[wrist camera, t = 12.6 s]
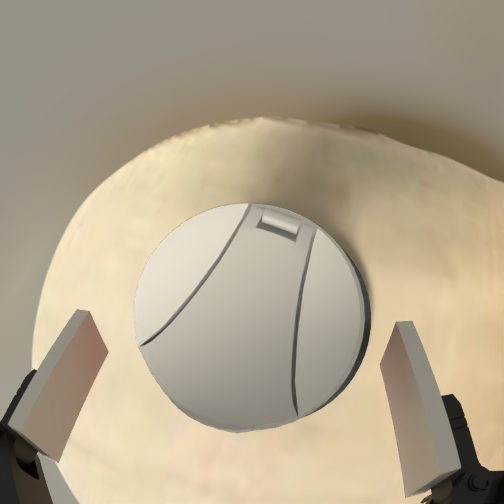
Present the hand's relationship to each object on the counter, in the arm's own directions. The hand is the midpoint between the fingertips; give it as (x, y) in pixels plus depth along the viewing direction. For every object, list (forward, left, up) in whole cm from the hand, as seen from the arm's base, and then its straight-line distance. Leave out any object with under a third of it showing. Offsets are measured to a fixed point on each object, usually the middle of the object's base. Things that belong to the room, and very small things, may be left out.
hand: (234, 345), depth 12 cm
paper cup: (0, -1, -10) cm, 10 cm away
